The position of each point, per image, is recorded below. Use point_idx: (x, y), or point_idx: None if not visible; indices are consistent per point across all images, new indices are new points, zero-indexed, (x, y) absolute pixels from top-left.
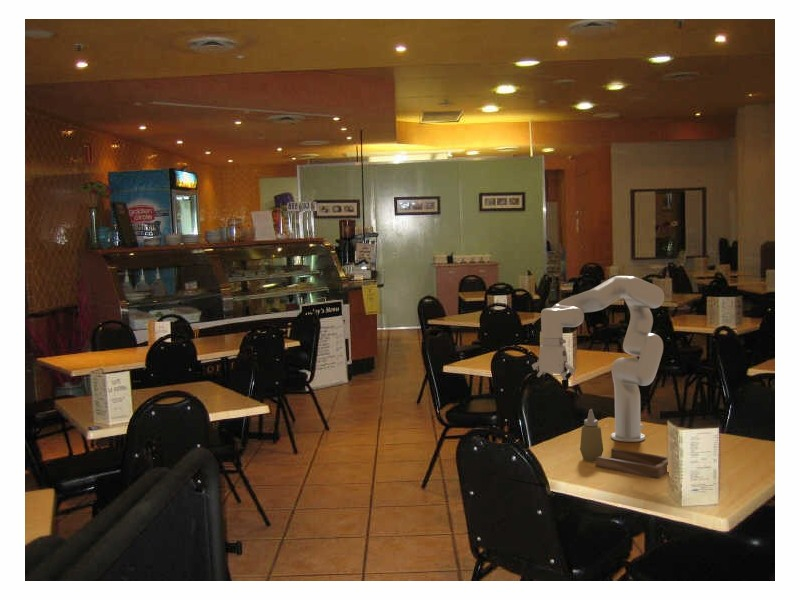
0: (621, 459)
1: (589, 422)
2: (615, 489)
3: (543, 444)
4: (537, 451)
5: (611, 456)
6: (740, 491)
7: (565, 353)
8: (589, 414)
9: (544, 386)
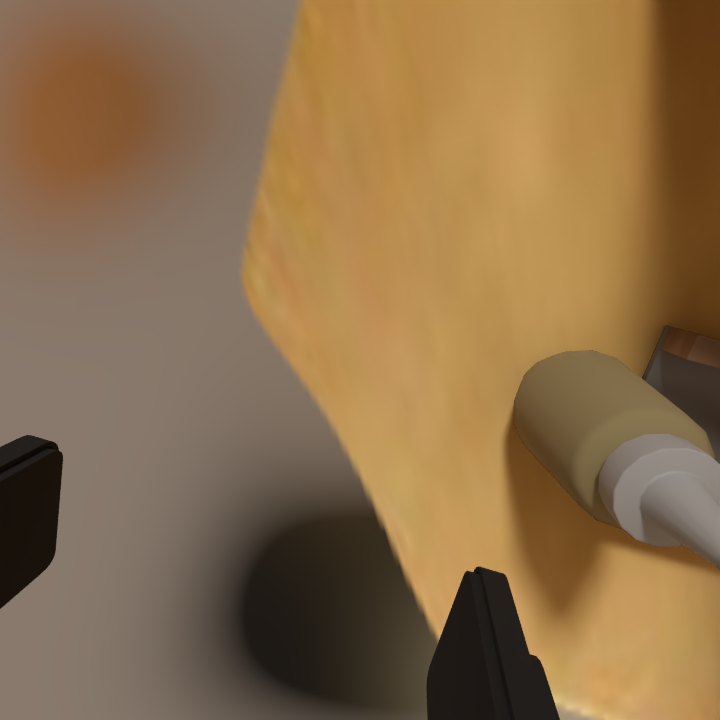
0: (715, 370)
1: (659, 544)
2: (694, 717)
3: (260, 200)
4: (275, 336)
5: (662, 350)
6: None
7: None
8: (694, 552)
9: (57, 473)
